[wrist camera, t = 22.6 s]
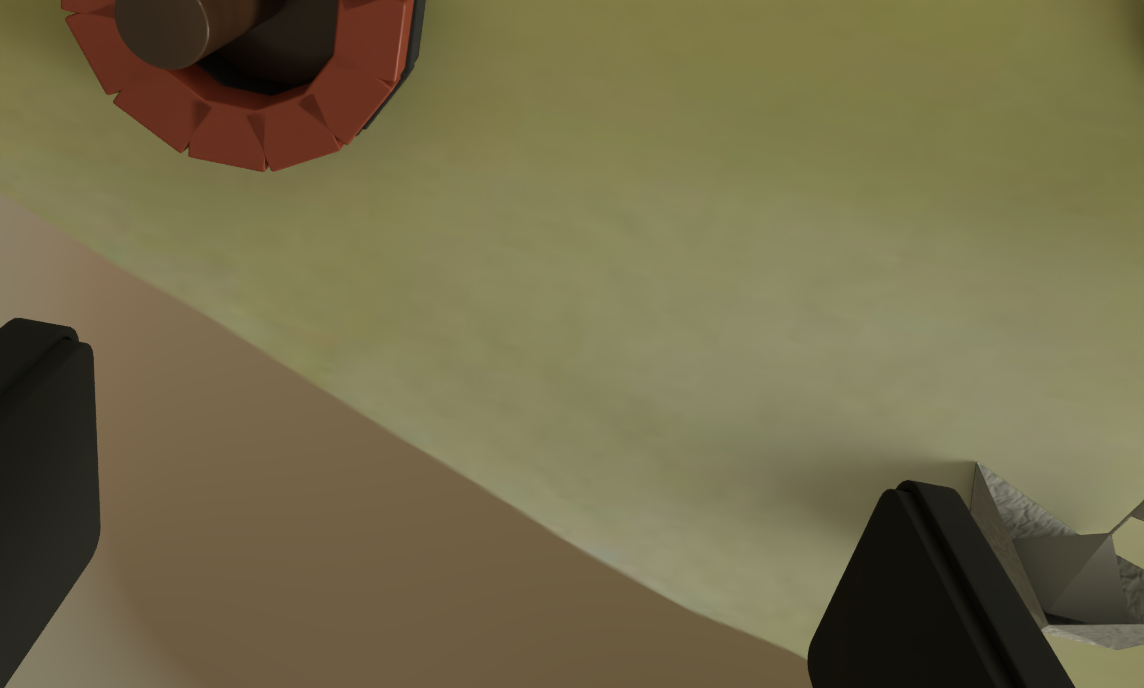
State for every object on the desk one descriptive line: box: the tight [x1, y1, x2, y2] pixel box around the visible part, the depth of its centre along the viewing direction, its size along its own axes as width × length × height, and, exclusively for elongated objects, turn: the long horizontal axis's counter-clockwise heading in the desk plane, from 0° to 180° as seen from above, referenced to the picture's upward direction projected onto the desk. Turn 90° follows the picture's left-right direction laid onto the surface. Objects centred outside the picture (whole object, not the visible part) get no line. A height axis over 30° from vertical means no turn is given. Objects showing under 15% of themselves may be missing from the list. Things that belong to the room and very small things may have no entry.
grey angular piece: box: [970, 462, 1144, 650], centre depth 41 cm, size 12×6×9 cm
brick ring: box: [61, 0, 414, 172], centre depth 28 cm, size 10×10×2 cm
